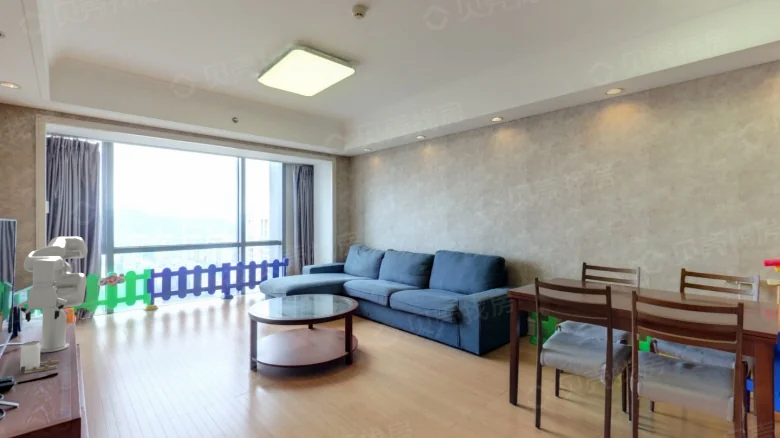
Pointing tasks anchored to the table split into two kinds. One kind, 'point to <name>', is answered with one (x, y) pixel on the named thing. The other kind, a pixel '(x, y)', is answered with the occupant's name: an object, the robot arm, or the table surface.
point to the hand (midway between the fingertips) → (42, 319)
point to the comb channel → (40, 368)
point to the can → (30, 355)
